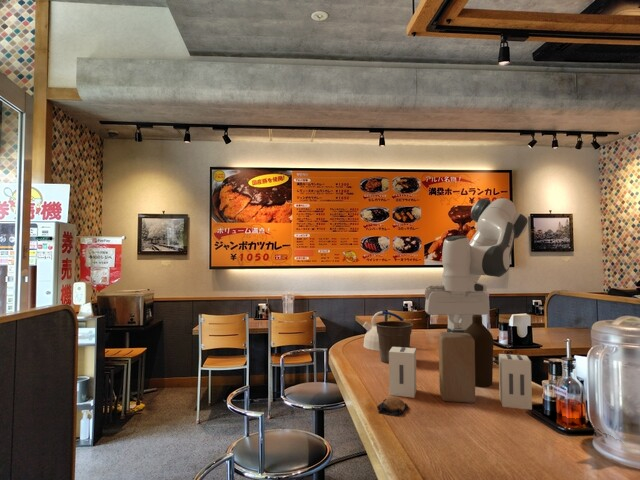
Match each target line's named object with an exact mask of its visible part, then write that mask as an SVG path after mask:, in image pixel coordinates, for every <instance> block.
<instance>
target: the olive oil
mask: <svg viewBox="0 0 640 480" xmlns="http://www.w3.org/2000/svg"><path fill="white" fill-rule="evenodd" d="M464 333H468V334H470V335H471V336H472V337H473V339H474V341H475V387H478V388H480V387H482V388H486V387H492V386H493V380H494V379H493V376H494V375H493V374H494V373H493V371H494V369H493V368H494V365H493V364H494V361H493V357H494V345H495V342H494V336H493V334H492V333H491V331H490V330H489V329H488V328H487V327H486V326H485V325H484V323H483V315H473V316H472V324H471V325H470V326H469V327H468V328H467V329H466V330H465V331H464Z"/></svg>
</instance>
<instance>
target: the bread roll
mask: <svg viewBox="0 0 640 480" xmlns="http://www.w3.org/2000/svg"><path fill="white" fill-rule="evenodd" d="M376 408H377V413H378V414H380V415H385V416H389V417H403V416H404V414H405V413H406V412H407V411H408V409H409V406H408V404H407V403H406V402H404V401H403V400H402V399H401V398H399V397H397V396H395V397H394V396H392V397H389V398H385V399H384V400H382V402H381V403H380V404H378V405H377V406H376Z"/></svg>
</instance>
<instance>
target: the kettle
mask: <svg viewBox="0 0 640 480" xmlns="http://www.w3.org/2000/svg"><path fill="white" fill-rule="evenodd" d="M379 315H389V316H392V317H394V318H396V319H397V320H398V321H403V322H404V318H402V317H401V316H399V315H397V314H396V313H394V312H391V311H385V310H382V311H377V312H376V313H375V314H373V316H372V318H371V324H370V323H369V322H368V321H365V322H364V323H363V325H362V327H363V328H364V329H365V330H366V333H365V335H364V337H363V338H364V339H363V348H365V349H367V350H369V351H378V352H380V348H379V338H378V333H377V327H376V325H375V323H376V318H377V317H378V316H379Z"/></svg>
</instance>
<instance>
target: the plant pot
mask: <svg viewBox="0 0 640 480" xmlns="http://www.w3.org/2000/svg"><path fill="white" fill-rule="evenodd" d="M375 325H376V327H377V333H378V338H379V348H380V351H379V355H380V358H379V359H380V361H381V362H383V363H385V364H389V351H390V349H391V348H392V347H404V348H411V344H410V343H411V336H412V332H413V331H412V330H413V326H414V324H413V323H412V322H408V321H404V320H403V321H400V320H383V321H377V322H375Z"/></svg>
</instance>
